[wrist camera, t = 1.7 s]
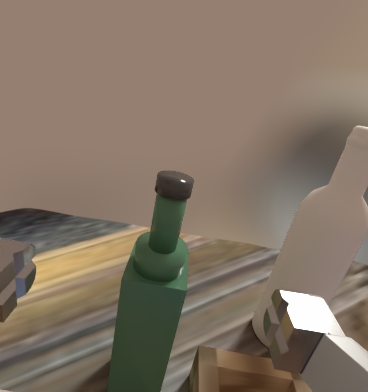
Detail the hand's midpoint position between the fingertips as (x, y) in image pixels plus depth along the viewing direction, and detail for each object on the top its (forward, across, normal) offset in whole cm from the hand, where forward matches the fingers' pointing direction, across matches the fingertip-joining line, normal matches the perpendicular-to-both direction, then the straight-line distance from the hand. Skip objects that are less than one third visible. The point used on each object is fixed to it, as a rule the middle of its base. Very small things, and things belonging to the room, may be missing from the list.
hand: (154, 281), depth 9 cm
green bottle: (+12, 0, +25) cm, 28 cm away
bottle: (+22, -19, +25) cm, 38 cm away
